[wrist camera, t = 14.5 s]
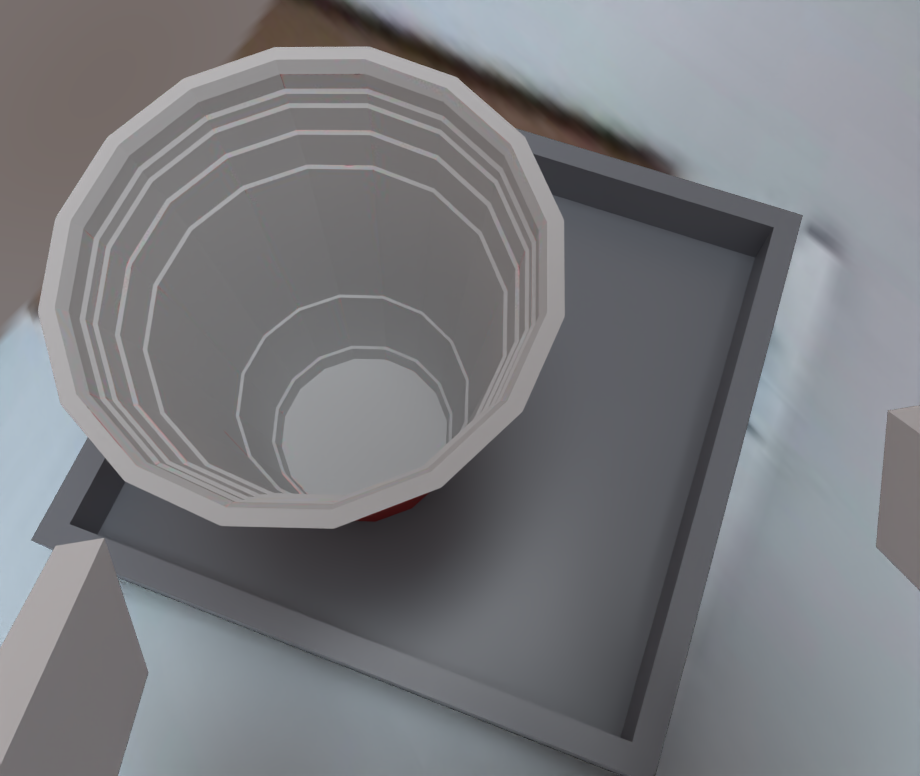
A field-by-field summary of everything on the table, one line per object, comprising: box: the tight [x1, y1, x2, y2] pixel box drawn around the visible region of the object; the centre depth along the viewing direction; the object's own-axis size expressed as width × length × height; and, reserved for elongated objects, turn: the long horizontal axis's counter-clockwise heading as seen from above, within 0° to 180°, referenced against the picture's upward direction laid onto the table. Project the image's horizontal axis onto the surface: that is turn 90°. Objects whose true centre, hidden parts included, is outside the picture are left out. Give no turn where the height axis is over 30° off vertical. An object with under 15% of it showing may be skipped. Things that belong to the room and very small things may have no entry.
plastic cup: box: [38, 47, 565, 529], centre depth 23 cm, size 11×11×12 cm
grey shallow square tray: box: [31, 128, 803, 776], centre depth 29 cm, size 19×19×3 cm
